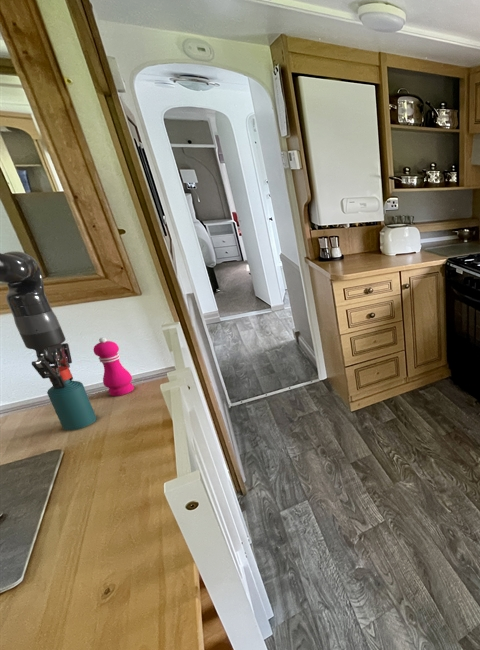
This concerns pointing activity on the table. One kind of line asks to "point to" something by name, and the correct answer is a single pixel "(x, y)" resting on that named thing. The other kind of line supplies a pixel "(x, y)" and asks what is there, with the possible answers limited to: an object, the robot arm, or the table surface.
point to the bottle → (72, 405)
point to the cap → (64, 373)
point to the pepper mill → (113, 368)
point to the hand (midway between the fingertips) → (64, 384)
